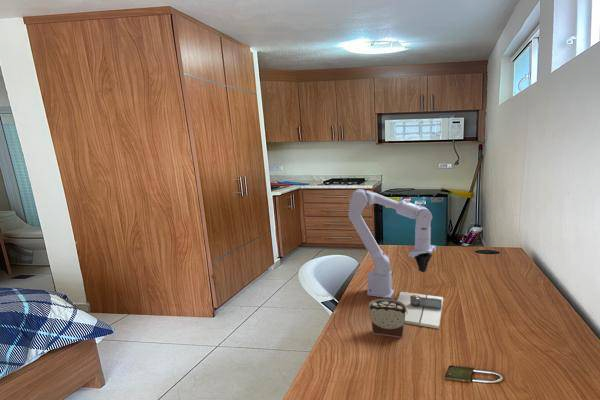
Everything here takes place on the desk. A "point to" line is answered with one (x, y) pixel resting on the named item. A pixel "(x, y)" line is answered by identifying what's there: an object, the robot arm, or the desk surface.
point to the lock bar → (425, 302)
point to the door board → (421, 311)
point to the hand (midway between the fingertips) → (422, 271)
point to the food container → (387, 317)
